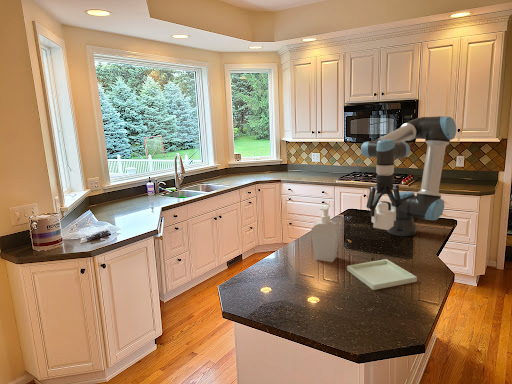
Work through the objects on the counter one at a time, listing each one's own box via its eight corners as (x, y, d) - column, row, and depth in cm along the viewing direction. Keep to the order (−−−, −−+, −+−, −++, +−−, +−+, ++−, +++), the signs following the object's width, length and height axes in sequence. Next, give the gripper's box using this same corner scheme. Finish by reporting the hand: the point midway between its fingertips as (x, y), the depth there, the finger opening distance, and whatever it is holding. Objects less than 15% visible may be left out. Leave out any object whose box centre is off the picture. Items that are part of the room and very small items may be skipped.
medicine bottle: (378, 223, 173) (379, 199, 171) (393, 226, 169) (394, 201, 166) (373, 227, 168) (373, 202, 165) (388, 230, 163) (389, 204, 161)
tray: (386, 263, 164) (386, 259, 164) (416, 281, 145) (416, 276, 145) (347, 270, 159) (347, 265, 159) (373, 289, 140) (373, 285, 140)
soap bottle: (341, 255, 176) (341, 204, 170) (336, 263, 167) (336, 209, 161) (316, 252, 181) (316, 202, 176) (310, 260, 172) (310, 207, 167)
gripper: (400, 170, 170) (399, 216, 174) (358, 175, 164) (357, 222, 168) (411, 173, 163) (409, 220, 167) (367, 177, 157) (366, 226, 161)
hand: (383, 221), depth 168 cm, fingers closed on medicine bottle, 10 cm apart
